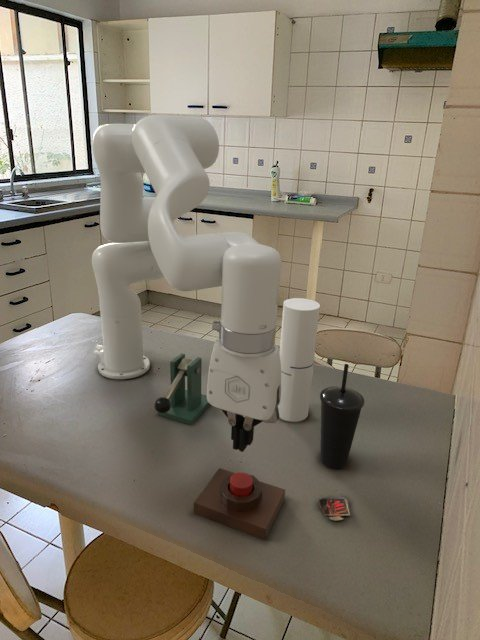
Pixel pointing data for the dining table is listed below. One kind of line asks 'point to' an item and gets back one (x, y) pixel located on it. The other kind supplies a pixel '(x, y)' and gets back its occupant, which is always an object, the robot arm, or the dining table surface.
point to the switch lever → (172, 388)
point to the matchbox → (334, 507)
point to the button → (241, 484)
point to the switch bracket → (187, 393)
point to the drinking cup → (338, 422)
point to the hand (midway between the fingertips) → (241, 445)
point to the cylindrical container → (297, 357)
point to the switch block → (240, 505)
